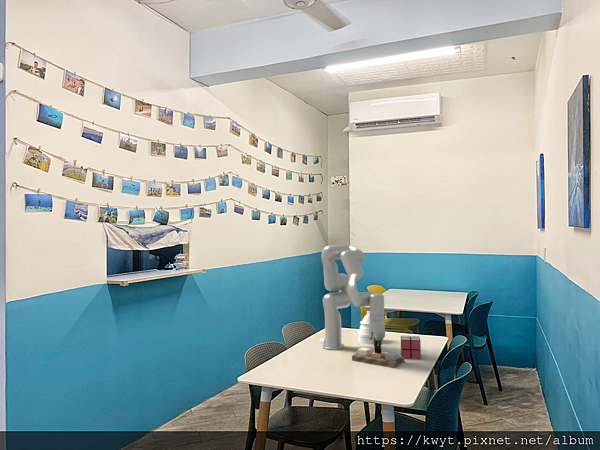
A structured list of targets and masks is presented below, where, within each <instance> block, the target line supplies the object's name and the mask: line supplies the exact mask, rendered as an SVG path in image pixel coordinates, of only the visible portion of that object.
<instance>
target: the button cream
mask: <svg viewBox="0 0 600 450" xmlns="http://www.w3.org/2000/svg"><path fill="white" fill-rule="evenodd" d="M371 352H372V348H370V347H369V348H368V347H360V348H358V349H357V353H358V355H362V356H368V355H371Z"/></svg>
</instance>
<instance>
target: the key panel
mask: <svg viewBox="0 0 600 450" xmlns="http://www.w3.org/2000/svg"><path fill="white" fill-rule="evenodd" d="M373 352H374V351H371V353H373ZM385 354H386V353H384V356H385ZM351 361H354V362H360V363H364V364H369V365H375V366H381V367H386V368H391V369H395V368H397V367H399V366H400V365H402V364H404V363H405V359H404V357H401V356H399V359H398V360H396V361H390V360H385V357H383V358H381V359H379V358H373V357H371V355H368V356H362V355H358V352H357V353H354V354H353V355H351Z"/></svg>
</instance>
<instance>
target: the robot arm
mask: <svg viewBox="0 0 600 450" xmlns="http://www.w3.org/2000/svg"><path fill="white" fill-rule="evenodd" d="M320 256H321V257H320V258H321V262H322V267H323V278H324V279H323V281H324V288H325V290H327V291H329V292H330V291H336V292H330V293H326V294H325V295H324V296H323V298H322V306H323V312H324V338H323V337H321V338H320V340H319V342H320V343H323V345H322V349H325V350H329V351H331V350H332V351H333V350H334V351H336V350H343V349H344V348H345V344H344V343H342V316H341V313H340V312H339V310H338V309H345V308H348V307H350V306H351V304H353V306H355V307H356V308H363V307H369V311H370V323H369V340H372V343H374V344H373V347H374V348H373V349H374V351H373V352H375V353H378V354H380V353H381V352H382V344H383V340H384V339H385V337H386V323H385V296H384V294H383V293H377V292H374V291H363V292H359V289H358V288H357V281H358V280H360V279H361V278H362V277H363V275H364V271H363V269H362V266H361V265H362V264H364V263H365V259H366V258H365V257H366V256H365V252H364V251H362V250H361V249H359V248H357V247H354V246H352V245H350V244H332V245H331V244H330V245H327V246H325V247H324V248H323V249H322V251H321V255H320ZM335 260H340V261H341V262H342V263H341V264H342V265H343V267H344V270H345V272H346V274H345V273H339V267H338V266H339V265H338V263H337V262H336V261H335Z"/></svg>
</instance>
